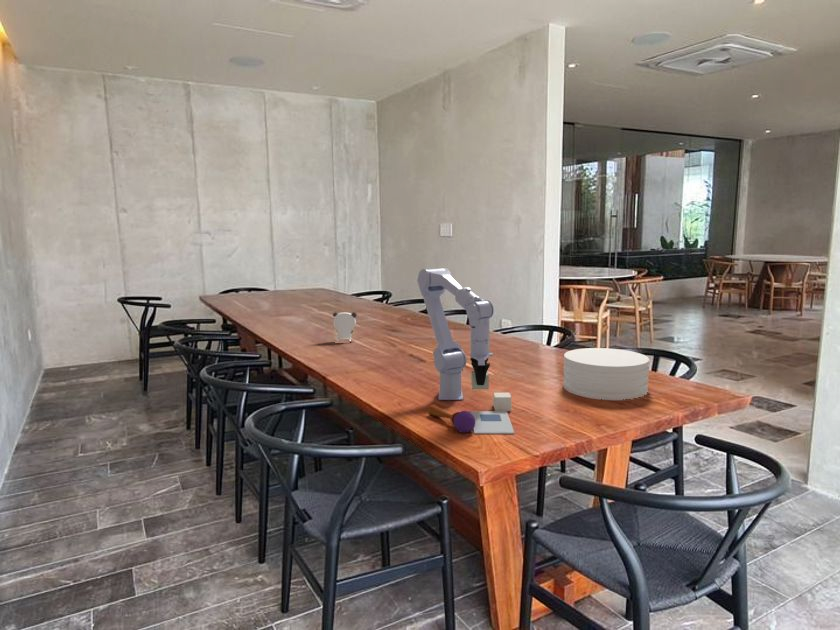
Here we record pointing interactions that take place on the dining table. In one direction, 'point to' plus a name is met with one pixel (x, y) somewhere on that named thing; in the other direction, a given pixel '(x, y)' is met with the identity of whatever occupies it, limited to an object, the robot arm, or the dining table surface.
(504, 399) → the block top
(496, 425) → the grey base plate
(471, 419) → the kendama
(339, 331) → the panda figurine
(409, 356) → the dining table surface
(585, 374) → the plate stack
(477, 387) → the block base
